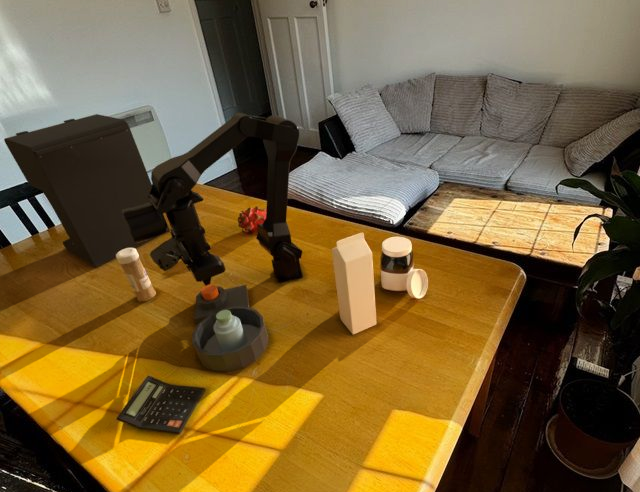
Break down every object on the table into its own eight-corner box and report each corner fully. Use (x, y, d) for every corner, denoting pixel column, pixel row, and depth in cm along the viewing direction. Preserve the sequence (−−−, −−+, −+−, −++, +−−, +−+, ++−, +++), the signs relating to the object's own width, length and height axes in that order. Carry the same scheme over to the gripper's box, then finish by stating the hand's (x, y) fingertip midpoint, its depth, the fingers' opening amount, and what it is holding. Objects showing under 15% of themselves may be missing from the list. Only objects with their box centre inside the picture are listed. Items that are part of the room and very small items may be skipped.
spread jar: (385, 271, 106) (383, 232, 99) (429, 274, 104) (431, 234, 97) (377, 301, 97) (375, 260, 90) (426, 305, 94) (427, 263, 88)
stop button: (218, 289, 99) (216, 283, 98) (218, 298, 96) (216, 291, 95) (203, 292, 98) (201, 286, 97) (203, 302, 95) (200, 295, 94)
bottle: (246, 333, 90) (236, 303, 85) (247, 350, 86) (237, 319, 81) (221, 339, 89) (209, 309, 84) (221, 357, 85) (209, 326, 80)
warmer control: (248, 291, 103) (244, 278, 101) (250, 313, 96) (246, 300, 94) (198, 302, 101) (193, 289, 99) (197, 326, 94) (191, 313, 92)
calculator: (180, 434, 71) (174, 424, 69) (121, 427, 73) (114, 417, 72) (205, 390, 79) (201, 380, 77) (151, 385, 81) (145, 374, 79)
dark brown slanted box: (148, 212, 145) (106, 108, 125) (181, 225, 135) (140, 115, 115) (65, 249, 127) (0, 136, 107) (96, 268, 117) (30, 146, 97)
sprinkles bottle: (158, 297, 104) (137, 252, 96) (138, 304, 102) (116, 259, 94) (154, 288, 107) (134, 244, 99) (135, 295, 105) (113, 251, 97)
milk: (376, 324, 90) (372, 238, 77) (352, 335, 88) (343, 248, 75) (362, 309, 95) (356, 225, 82) (339, 319, 92) (329, 234, 80)
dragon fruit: (238, 241, 127) (271, 231, 134) (249, 234, 120) (283, 223, 127) (227, 216, 126) (261, 207, 134) (237, 207, 120) (272, 198, 127)
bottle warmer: (265, 316, 95) (260, 300, 92) (271, 361, 84) (266, 344, 81) (200, 332, 92) (193, 315, 89) (198, 380, 81) (190, 363, 78)
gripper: (135, 222, 89) (161, 280, 98) (157, 258, 76) (184, 320, 85) (187, 205, 94) (206, 262, 103) (215, 236, 81) (235, 298, 90)
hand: (207, 284), depth 95 cm, fingers closed
